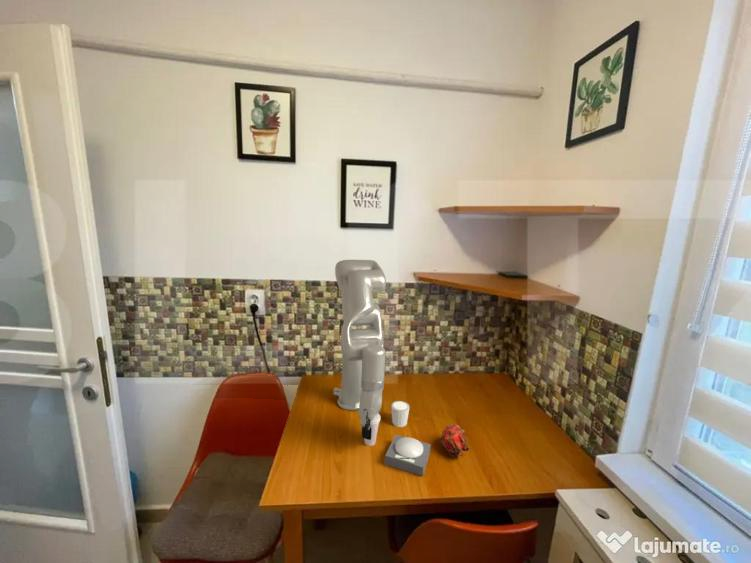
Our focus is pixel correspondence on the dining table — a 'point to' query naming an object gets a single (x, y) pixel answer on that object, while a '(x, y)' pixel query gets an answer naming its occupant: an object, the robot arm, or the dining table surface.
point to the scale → (408, 454)
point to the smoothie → (373, 430)
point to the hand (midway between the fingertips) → (370, 431)
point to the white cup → (400, 413)
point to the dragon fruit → (454, 440)
